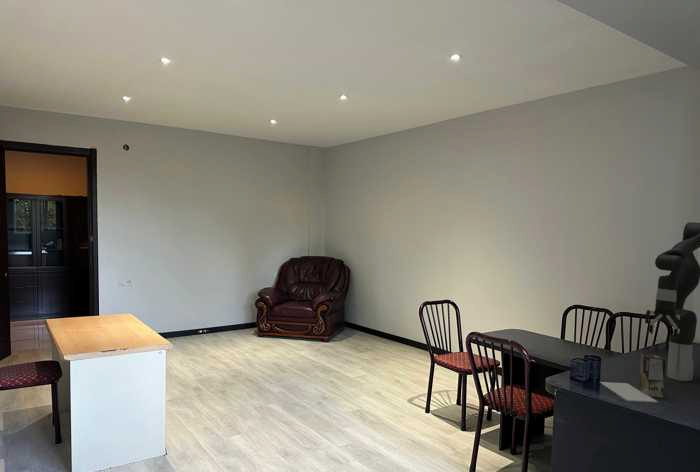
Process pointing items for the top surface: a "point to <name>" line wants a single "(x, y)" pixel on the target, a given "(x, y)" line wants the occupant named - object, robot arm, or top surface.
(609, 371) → the top surface
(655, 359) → the coffee box
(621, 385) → the mat
